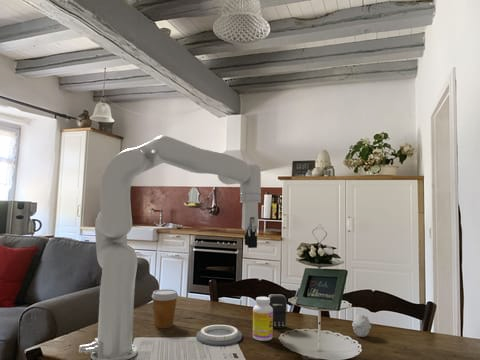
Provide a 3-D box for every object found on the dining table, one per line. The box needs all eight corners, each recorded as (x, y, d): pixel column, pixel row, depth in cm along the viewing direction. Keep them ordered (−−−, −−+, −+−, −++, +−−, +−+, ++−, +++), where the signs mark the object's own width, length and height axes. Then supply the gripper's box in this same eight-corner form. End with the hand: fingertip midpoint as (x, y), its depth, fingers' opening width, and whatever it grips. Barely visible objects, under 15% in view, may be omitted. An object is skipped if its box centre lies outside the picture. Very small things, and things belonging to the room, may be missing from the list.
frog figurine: (373, 335, 122) (372, 314, 122) (368, 341, 116) (367, 319, 117) (355, 331, 125) (354, 311, 126) (349, 337, 119) (349, 316, 120)
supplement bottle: (271, 342, 113) (271, 301, 115) (251, 340, 115) (251, 299, 116) (273, 335, 120) (273, 296, 121) (254, 333, 121) (254, 295, 122)
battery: (267, 329, 126) (267, 296, 128) (266, 325, 130) (267, 293, 131) (287, 329, 126) (287, 296, 127) (285, 326, 130) (286, 294, 131)
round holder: (210, 349, 107) (210, 341, 107) (188, 334, 119) (188, 327, 120) (250, 339, 115) (250, 332, 115) (226, 327, 128) (226, 321, 128)
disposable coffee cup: (182, 326, 128) (183, 292, 129) (158, 331, 122) (159, 295, 123) (168, 320, 135) (169, 288, 137) (145, 324, 129) (147, 291, 130)
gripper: (238, 199, 137) (238, 244, 135) (242, 197, 120) (242, 249, 118) (257, 199, 138) (257, 244, 136) (264, 197, 120) (265, 248, 119)
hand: (250, 246), depth 127 cm, fingers open, 9 cm apart
